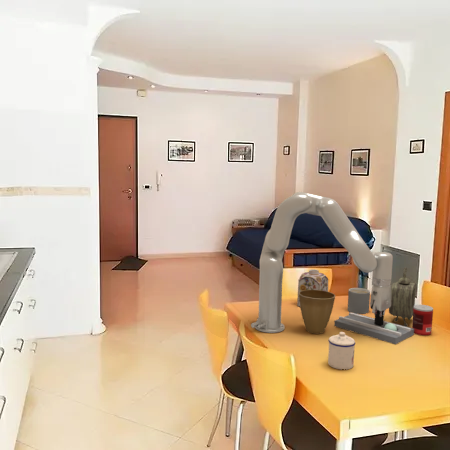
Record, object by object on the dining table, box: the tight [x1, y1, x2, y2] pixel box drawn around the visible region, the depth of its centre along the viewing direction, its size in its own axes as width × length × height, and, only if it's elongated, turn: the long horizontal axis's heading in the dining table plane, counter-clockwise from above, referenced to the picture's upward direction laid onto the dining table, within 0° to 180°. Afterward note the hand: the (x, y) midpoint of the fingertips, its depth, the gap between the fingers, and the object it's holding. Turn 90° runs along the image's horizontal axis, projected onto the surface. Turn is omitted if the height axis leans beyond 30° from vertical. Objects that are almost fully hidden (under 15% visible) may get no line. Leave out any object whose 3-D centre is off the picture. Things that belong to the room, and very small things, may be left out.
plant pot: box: [299, 290, 336, 335], centre depth 199 cm, size 15×15×16 cm
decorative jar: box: [296, 268, 329, 307], centre depth 235 cm, size 12×12×18 cm
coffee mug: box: [347, 287, 371, 315], centre depth 230 cm, size 13×10×10 cm
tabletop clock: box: [388, 266, 417, 327], centre depth 211 cm, size 14×9×25 cm, turn 152°
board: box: [333, 312, 415, 345], centre depth 201 cm, size 28×16×4 cm, turn 44°
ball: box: [384, 322, 397, 331], centre depth 196 cm, size 5×5×5 cm
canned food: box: [411, 304, 434, 337], centre depth 199 cm, size 8×8×11 cm
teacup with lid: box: [327, 331, 356, 371], centre depth 167 cm, size 12×9×12 cm
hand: (378, 324), depth 199 cm, fingers closed
